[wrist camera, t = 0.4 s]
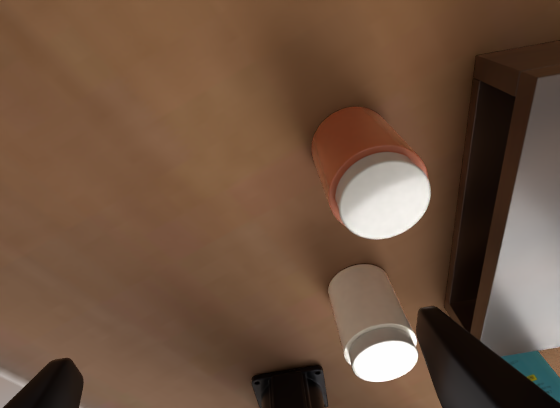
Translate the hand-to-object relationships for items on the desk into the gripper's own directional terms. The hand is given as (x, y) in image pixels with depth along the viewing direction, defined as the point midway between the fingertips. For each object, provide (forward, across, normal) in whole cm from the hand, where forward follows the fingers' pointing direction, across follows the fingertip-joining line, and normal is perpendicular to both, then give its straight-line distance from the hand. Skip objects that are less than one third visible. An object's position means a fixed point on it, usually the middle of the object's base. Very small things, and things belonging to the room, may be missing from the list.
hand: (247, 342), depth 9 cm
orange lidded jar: (+14, -6, +1) cm, 15 cm away
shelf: (+14, -18, +7) cm, 24 cm away
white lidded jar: (+14, -6, +13) cm, 20 cm away
